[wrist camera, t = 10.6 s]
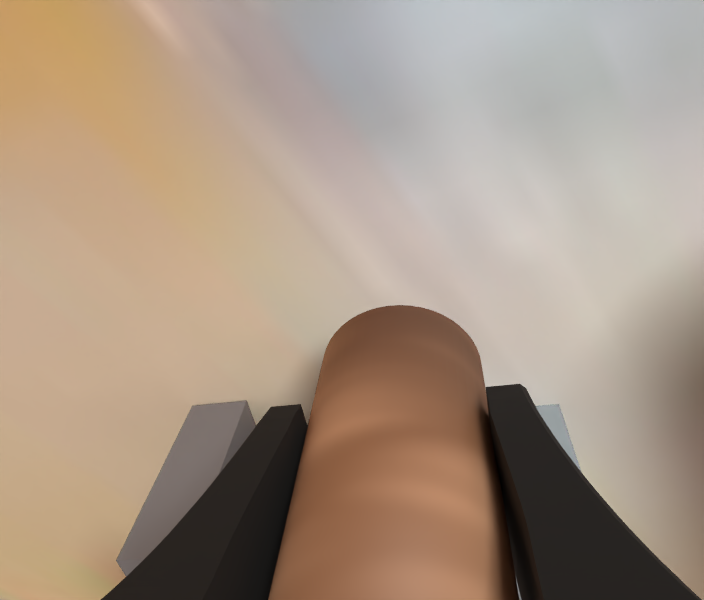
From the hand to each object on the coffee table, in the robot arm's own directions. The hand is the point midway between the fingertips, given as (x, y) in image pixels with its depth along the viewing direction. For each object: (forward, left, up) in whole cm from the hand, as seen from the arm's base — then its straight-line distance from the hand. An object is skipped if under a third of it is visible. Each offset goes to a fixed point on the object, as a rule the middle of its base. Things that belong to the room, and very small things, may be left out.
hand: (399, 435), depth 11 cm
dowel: (0, 0, -2) cm, 2 cm away
